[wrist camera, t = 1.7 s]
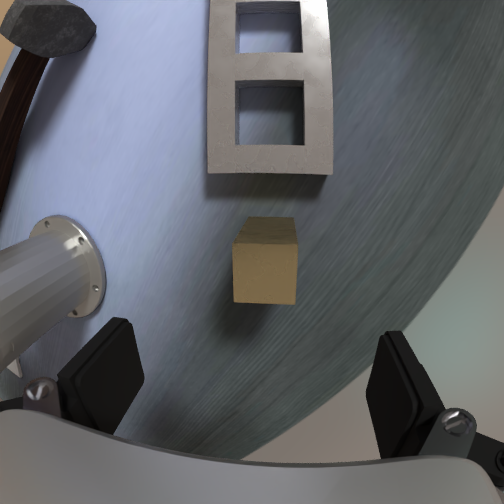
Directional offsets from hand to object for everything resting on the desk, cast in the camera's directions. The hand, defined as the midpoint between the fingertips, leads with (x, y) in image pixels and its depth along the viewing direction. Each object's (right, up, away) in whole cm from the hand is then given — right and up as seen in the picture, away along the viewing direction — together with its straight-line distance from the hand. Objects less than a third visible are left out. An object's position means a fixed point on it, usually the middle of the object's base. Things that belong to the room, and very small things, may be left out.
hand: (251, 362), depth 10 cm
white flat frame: (+2, +23, +11) cm, 26 cm away
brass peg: (+2, +5, +17) cm, 18 cm away
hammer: (-27, +20, +16) cm, 37 cm away
